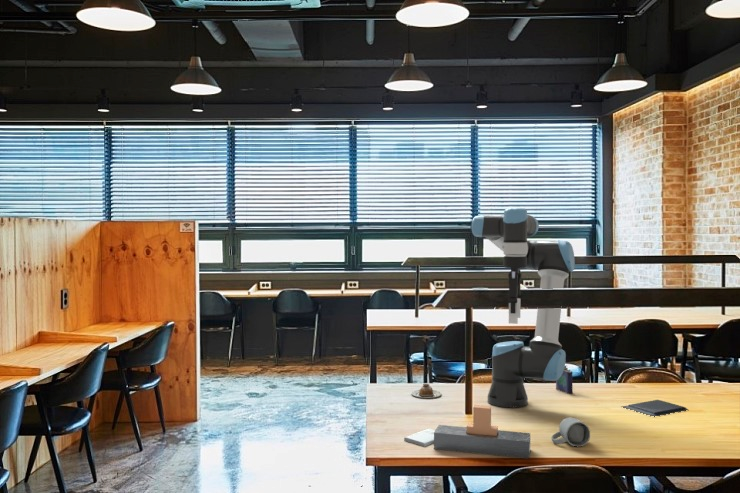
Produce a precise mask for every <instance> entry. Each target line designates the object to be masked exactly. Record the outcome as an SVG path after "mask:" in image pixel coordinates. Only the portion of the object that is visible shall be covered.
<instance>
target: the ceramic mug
mask: <svg viewBox="0 0 740 493" xmlns="http://www.w3.org/2000/svg"><path fill="white" fill-rule="evenodd" d="M558 430H559V431H557V432H555V433H554V434H553V435H552V436H551V441H552V443H553V444H554V445H561V444H564V443H568V444H569V445H570V446H572V447H574V446H577V447H576V448H579V447H578V446H582V447H584V446H585V445H587V443H588V442H589V441H590V438H591V429H590V428H589V426H588V425H587V424H586V423H585V422H583V421H582V420H579V419H578V418H575V417H571V416H570V417H566V418H563V419H562V420H561V422H560V423H559V429H558ZM560 437H561V438H560Z"/></svg>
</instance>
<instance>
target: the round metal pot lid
mask: <svg viewBox="0 0 740 493" xmlns="http://www.w3.org/2000/svg"><path fill="white" fill-rule="evenodd" d="M418 394H419V395H418ZM411 395H412V396H414V397H415V398H418V399H419V398H420V399H435V398H436V399H437V398H439V397H441V395H442V392H441V391H438V390H436V389H435V390H434V389H433V388H432V386H431V385H430V384H429V383H423V384H422V386H421V388H420V389H416V390H414V391H412V392H411ZM434 395H435V396H434Z"/></svg>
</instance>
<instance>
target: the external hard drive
mask: <svg viewBox="0 0 740 493" xmlns="http://www.w3.org/2000/svg"><path fill="white" fill-rule="evenodd" d="M435 430H436V429H432V428H427V429H424V430H421V431H418V432H415V433H412V434H410V435H408V436H404V438H403V440H404V441H405V442H408V443H410V444H416V445H418V446H421V447H427V446H429V445H432V444H434V432H435Z"/></svg>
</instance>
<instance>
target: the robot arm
mask: <svg viewBox="0 0 740 493" xmlns="http://www.w3.org/2000/svg"><path fill="white" fill-rule="evenodd" d="M539 228H540V226H539V221H538V219H536V217H535V216H533V215H530V214H528V210H527V209H526V208H522V207H519V208H518V207H517V208H516V207H515V208H505V209H504V211H503V215H501V214H500V215H499V214H497V215H493V214H491V215H485V214H483V215H476V216H474V217H473V218H472V220H471V232H472V235H473V236H474V237H477V238H486V239H488V241H489V242H491V243H492V244H493V245H494V246H496V247H497V248H498V249H499V250H501V251H502V252H503V255H504V256H503V258H502V262H503V264H502V265H503V268H506V269H510V271H509V272H508V276H507V278H508V299H506V304H508V324H512V325H515V324H516V325H517V324H518V322H519V321H518V320H519V319H521V299H523V297H524V296H523V294H522V293H521V284H522V276H523V275H522V273H521V269H527V270H532V271H533V270H537V274H538V276H539V277H540V285H539V289H540V288H542V289H553V288H563V289H564V284H565V280H566V279H567V278H568V277H569V275H570V274H569V273H570V272H574V271H575V266H576V264H575V263H576V262H575V259H576V258H575V253H574V252H575V251H574V248H573V246H572V244H571V243H570V241H566V240H559V239H558V240H531V239H530V240H528V238H530V237H533V236H534V235H536V234H537V233H538V230H539ZM561 314H562V307H561V308H554V309H538V308H537V310H536V323H535V329H534V330H535V331H534V337H533V338H532V339H531V340H529V346H527V345H525V344H524V341H519V340H512V341H503V342H497V343H496V344H494V345H493V347H492V352H491V353H492V355H491V359H492V360H491V367H492V368H491V372H492V373H491V374H492V375H491V376H492V380H491V384H490V387H489V390H488V394H487V403H489V404H490V405H493V406H496V407H501V408H521V407H525V406H527V405H528V402H529V401H528V400H529V399H528V397H529V396H528V393H527V392H526V387H525V384H524V378H526V379H535V380H542V381H553V382H556V380H558V379H559V378H560V377H561V375H562V373H563V371H564V367H565V366H566V362H567V361H566V357H567V354H566V351H565V350H563V349H562V347H563V346H562V344H561V343H560V342H559V333H560V324H561Z"/></svg>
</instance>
